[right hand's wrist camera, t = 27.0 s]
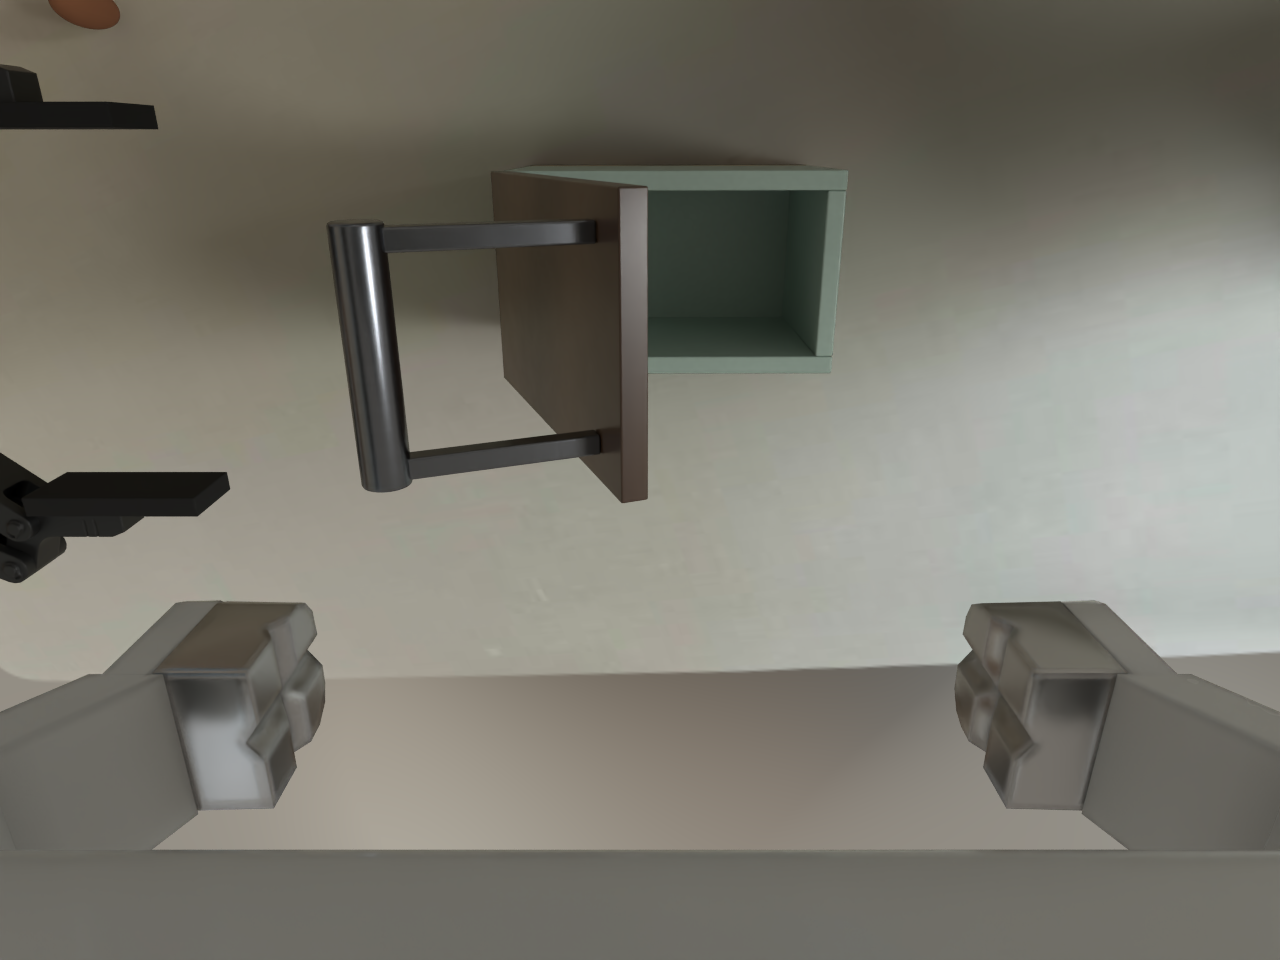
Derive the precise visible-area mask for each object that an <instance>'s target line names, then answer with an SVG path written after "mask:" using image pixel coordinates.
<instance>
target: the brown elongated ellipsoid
mask: <svg viewBox="0 0 1280 960" xmlns="http://www.w3.org/2000/svg"><path fill="white" fill-rule="evenodd" d="M48 1H49V3H50V5H51V7H52V8H53V10H54V11H55V12H56V13H57V14H58V15H59V16H61V17H62V18H64V19H65V20H67V21H69V22H71V23H73V24H75V25H78V26H81V27H84V28H89V29H107V28H110V27H112V26H114V25H115V24H117V22H118V21H119V18H120V12H119V9H118V7H117V5H116V4H115V3H114V1H113V0H48Z"/></svg>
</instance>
